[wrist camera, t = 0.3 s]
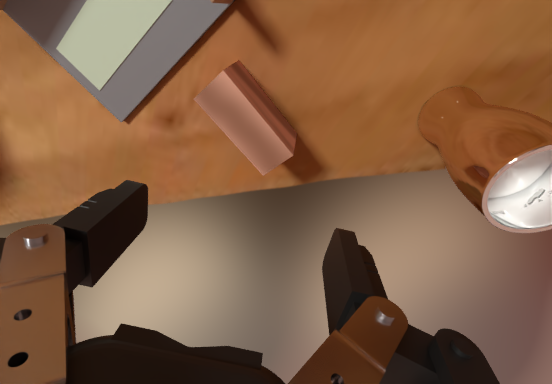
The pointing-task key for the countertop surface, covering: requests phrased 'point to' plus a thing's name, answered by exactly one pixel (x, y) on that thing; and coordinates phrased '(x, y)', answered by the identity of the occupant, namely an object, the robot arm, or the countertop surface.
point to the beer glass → (494, 157)
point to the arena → (116, 41)
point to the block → (248, 118)
